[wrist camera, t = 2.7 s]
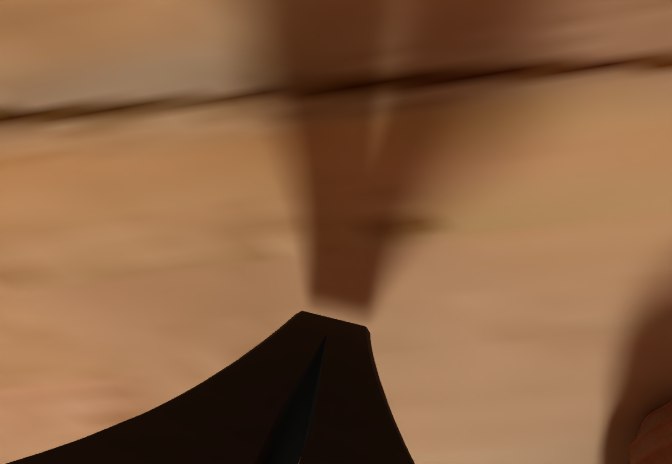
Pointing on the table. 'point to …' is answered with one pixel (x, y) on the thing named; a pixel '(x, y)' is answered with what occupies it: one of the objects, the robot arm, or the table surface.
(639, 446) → the pottery mug
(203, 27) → the table surface
